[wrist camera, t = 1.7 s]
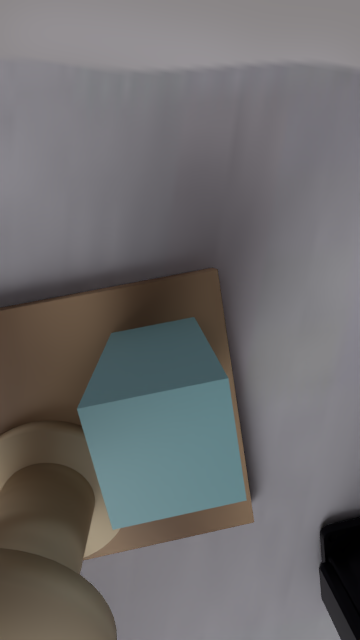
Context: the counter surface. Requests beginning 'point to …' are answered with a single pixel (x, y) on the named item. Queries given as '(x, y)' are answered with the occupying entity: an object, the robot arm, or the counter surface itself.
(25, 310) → the board
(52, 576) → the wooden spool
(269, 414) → the counter surface
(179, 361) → the block
